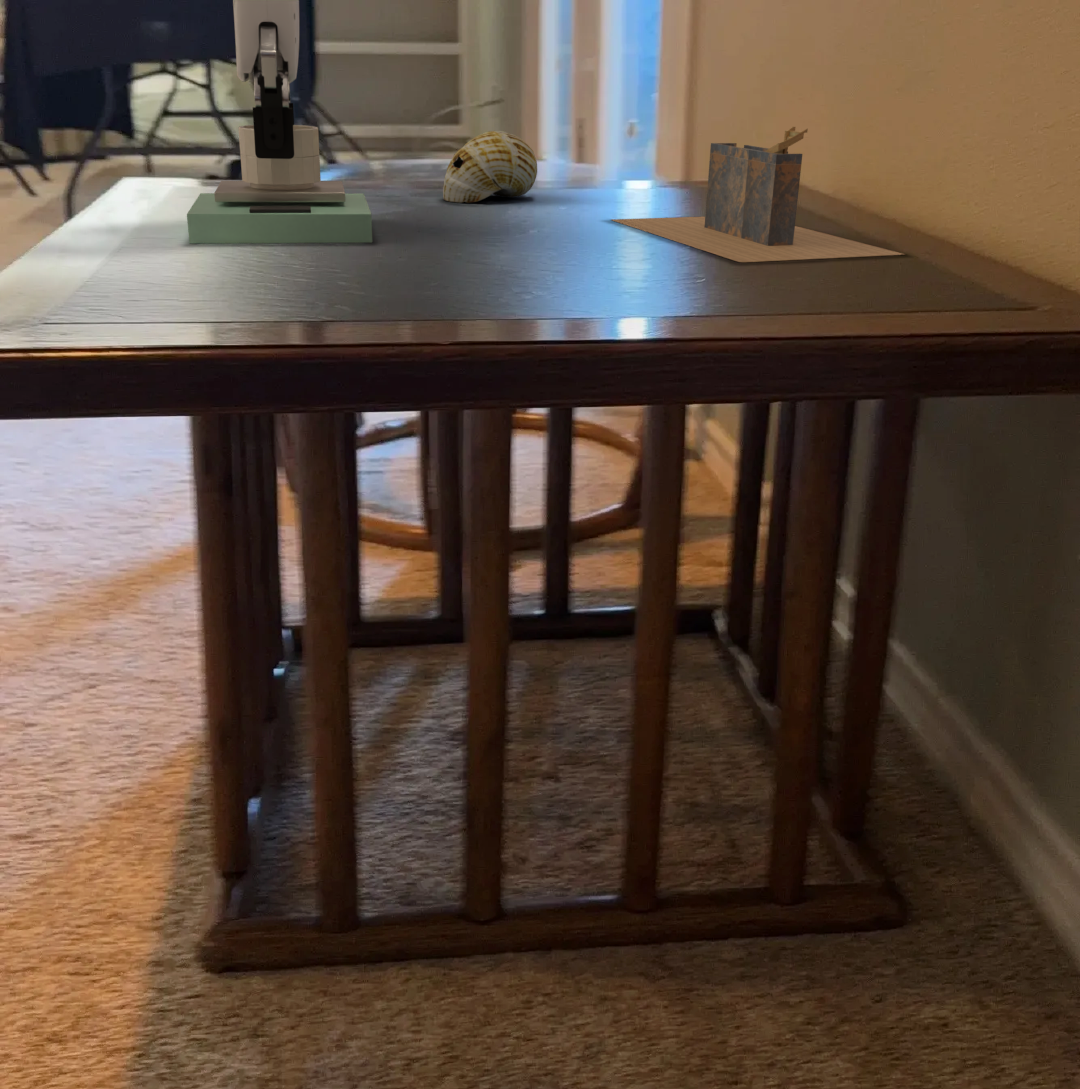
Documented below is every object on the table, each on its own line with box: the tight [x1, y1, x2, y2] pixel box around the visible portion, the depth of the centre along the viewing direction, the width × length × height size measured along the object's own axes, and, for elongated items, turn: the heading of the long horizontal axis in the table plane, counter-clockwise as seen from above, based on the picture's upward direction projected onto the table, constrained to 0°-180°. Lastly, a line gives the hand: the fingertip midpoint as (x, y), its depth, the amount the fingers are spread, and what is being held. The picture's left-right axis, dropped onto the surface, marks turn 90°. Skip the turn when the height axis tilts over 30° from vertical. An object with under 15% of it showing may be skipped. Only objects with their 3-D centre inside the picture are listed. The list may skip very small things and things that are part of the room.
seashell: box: [442, 130, 538, 204], centre depth 128 cm, size 10×10×10 cm
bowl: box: [238, 124, 322, 190], centre depth 104 cm, size 7×7×5 cm
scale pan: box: [213, 180, 346, 202], centre depth 105 cm, size 11×9×1 cm
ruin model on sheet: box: [612, 126, 905, 263], centre depth 106 cm, size 25×16×10 cm, turn 22°
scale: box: [186, 192, 373, 245], centre depth 104 cm, size 15×14×3 cm
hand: (276, 153), depth 103 cm, fingers open, 9 cm apart
